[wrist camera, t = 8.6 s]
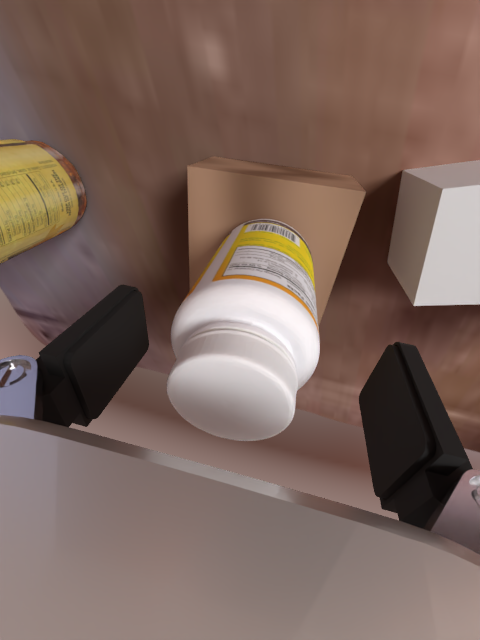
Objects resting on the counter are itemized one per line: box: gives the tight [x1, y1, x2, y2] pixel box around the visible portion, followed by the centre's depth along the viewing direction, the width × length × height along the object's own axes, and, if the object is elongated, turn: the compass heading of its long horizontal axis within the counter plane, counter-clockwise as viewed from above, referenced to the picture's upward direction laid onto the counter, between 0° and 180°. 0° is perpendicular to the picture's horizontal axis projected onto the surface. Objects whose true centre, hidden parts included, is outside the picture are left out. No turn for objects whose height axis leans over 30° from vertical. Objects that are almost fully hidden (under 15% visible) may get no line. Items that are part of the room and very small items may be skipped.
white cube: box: [387, 160, 480, 306], centre depth 15 cm, size 6×6×6 cm
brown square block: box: [187, 156, 366, 327], centre depth 18 cm, size 9×9×5 cm
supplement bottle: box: [167, 219, 320, 441], centre depth 12 cm, size 6×6×10 cm
